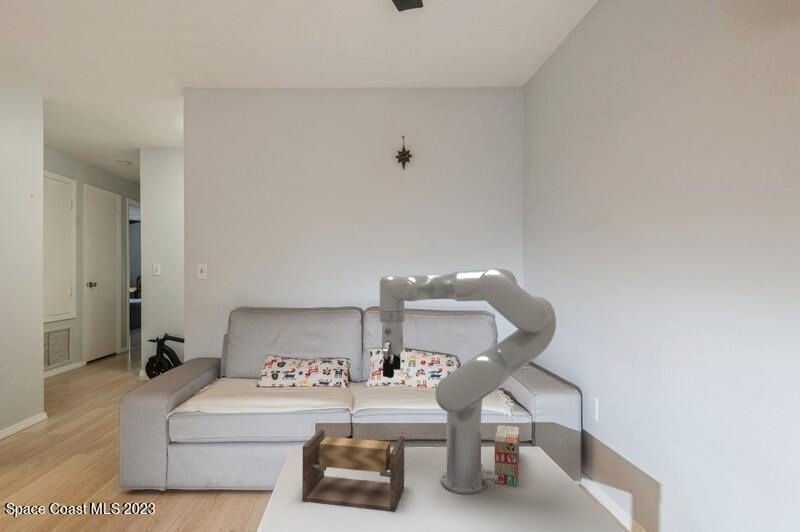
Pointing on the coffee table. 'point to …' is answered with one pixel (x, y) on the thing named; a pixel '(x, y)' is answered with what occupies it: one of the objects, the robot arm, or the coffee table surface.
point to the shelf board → (355, 454)
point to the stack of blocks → (507, 455)
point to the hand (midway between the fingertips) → (391, 373)
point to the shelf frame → (351, 481)
